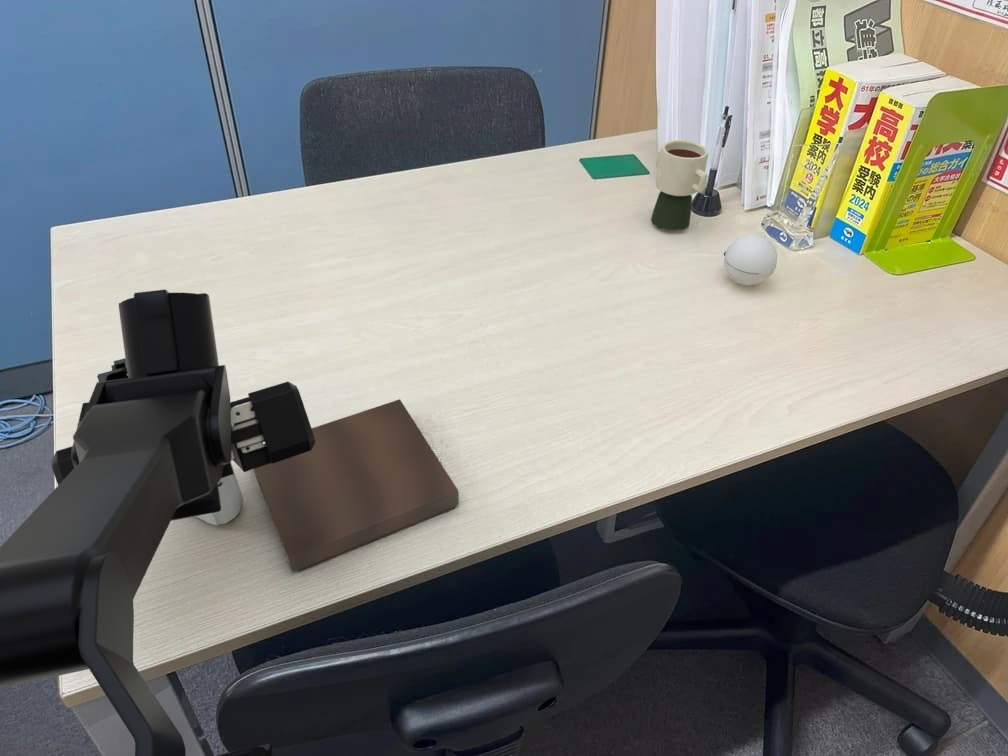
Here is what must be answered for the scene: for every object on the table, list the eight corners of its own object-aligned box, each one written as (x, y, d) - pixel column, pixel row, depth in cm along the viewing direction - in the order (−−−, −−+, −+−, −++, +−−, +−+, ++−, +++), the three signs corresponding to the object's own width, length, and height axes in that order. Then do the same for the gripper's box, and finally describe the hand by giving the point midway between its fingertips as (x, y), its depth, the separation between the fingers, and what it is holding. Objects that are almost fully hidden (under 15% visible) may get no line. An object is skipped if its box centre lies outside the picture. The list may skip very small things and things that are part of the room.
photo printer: (253, 503, 71) (220, 413, 63) (220, 533, 68) (181, 443, 60) (181, 464, 75) (142, 375, 67) (147, 492, 72) (102, 402, 64)
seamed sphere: (749, 264, 109) (762, 221, 104) (779, 290, 103) (795, 246, 99) (693, 275, 106) (704, 231, 101) (722, 302, 100) (734, 258, 96)
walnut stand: (292, 574, 65) (288, 558, 64) (251, 465, 75) (246, 449, 73) (459, 506, 72) (458, 490, 70) (401, 414, 81) (399, 398, 80)
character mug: (708, 234, 115) (727, 158, 106) (674, 245, 112) (691, 167, 104) (664, 206, 122) (679, 132, 113) (631, 215, 119) (644, 140, 110)
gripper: (280, 307, 54) (269, 342, 69) (1, 379, 47) (54, 402, 62) (327, 445, 54) (306, 451, 69) (55, 538, 47) (95, 523, 62)
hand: (196, 453), depth 65 cm, fingers closed on photo printer, 5 cm apart
